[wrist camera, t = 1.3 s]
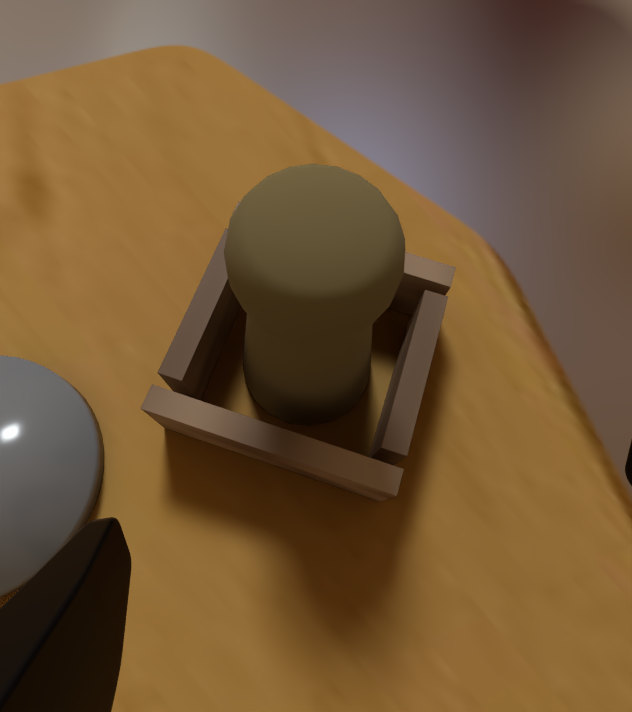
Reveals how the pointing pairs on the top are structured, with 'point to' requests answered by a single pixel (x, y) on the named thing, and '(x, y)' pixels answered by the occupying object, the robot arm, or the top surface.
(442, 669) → the top surface
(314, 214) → the cork
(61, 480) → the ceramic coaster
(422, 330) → the frame
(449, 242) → the top surface
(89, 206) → the top surface
